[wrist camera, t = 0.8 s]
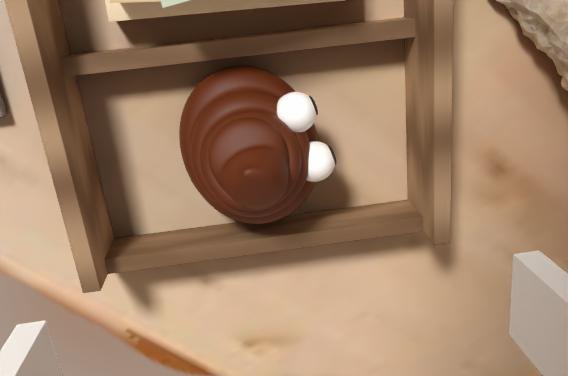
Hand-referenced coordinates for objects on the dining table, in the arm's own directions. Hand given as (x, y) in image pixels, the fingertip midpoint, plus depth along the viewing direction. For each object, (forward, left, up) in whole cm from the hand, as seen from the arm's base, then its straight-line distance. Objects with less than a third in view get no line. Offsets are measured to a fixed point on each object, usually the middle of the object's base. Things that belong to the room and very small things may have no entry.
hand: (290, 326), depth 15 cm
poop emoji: (0, 0, -21) cm, 21 cm away
